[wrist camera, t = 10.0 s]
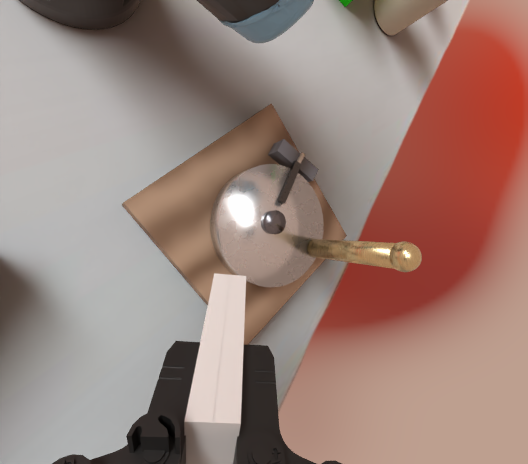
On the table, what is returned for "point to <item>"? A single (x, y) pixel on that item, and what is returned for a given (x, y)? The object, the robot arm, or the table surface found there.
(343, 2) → the puzzle toy
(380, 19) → the travel mug
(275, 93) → the table surface
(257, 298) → the walnut stand
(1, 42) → the table surface
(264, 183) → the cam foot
